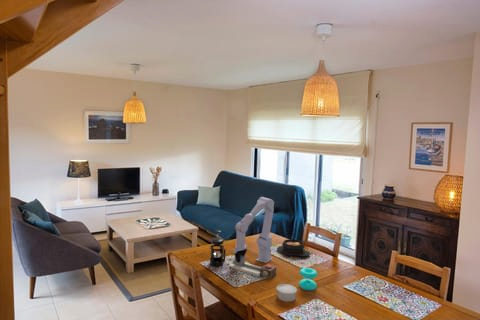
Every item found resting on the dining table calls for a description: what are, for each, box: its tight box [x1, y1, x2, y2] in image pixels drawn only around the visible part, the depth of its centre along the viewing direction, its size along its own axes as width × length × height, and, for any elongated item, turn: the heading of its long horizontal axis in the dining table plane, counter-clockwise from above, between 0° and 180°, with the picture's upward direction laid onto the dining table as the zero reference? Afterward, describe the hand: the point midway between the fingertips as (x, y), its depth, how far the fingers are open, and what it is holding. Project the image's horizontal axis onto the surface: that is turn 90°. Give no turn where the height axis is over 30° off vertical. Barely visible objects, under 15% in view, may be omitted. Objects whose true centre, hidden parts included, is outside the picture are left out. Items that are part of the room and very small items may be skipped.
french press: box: [209, 229, 227, 268], centre depth 218 cm, size 12×9×23 cm
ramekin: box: [275, 283, 298, 303], centre depth 178 cm, size 11×11×5 cm
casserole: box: [276, 238, 311, 257], centre depth 245 cm, size 25×19×8 cm
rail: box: [228, 259, 262, 277], centre depth 213 cm, size 10×22×3 cm, turn 58°
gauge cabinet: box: [259, 263, 277, 280], centre depth 205 cm, size 8×7×5 cm
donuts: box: [298, 267, 318, 291], centre depth 191 cm, size 10×10×10 cm
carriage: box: [233, 255, 247, 266], centre depth 216 cm, size 4×6×5 cm, turn 58°
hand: (239, 260), depth 216 cm, fingers closed on carriage, 4 cm apart
